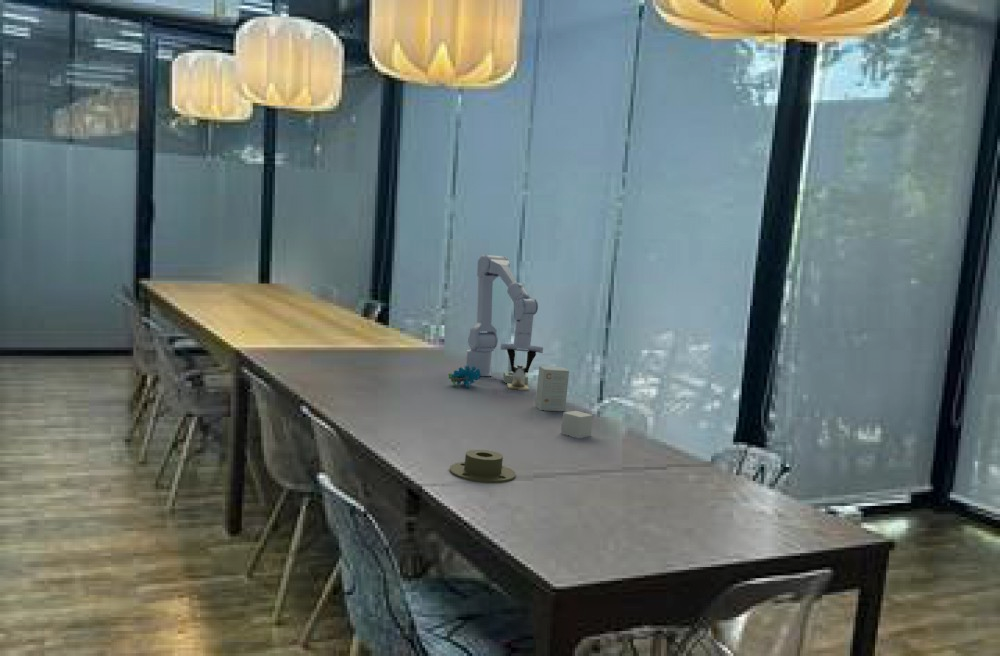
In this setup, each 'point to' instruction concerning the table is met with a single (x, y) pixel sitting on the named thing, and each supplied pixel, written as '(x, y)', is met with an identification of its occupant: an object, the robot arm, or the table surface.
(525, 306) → the robot arm
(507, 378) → the housing
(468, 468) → the flange
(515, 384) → the grey cylinder
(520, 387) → the coaster
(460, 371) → the toy stegosaurus
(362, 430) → the table surface
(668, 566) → the table surface
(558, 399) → the small box
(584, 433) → the light grey cube
